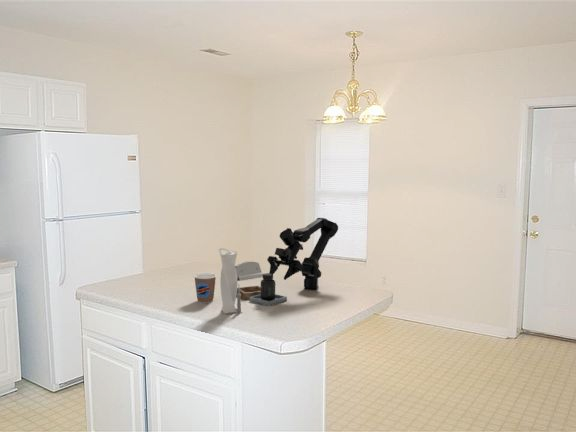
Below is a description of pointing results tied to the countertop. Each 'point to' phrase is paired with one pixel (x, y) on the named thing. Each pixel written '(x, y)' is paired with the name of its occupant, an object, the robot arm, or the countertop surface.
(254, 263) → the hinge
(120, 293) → the countertop surface
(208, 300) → the coffee cup
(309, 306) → the countertop surface
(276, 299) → the tray
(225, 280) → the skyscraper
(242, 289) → the slot holder
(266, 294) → the supplement bottle
